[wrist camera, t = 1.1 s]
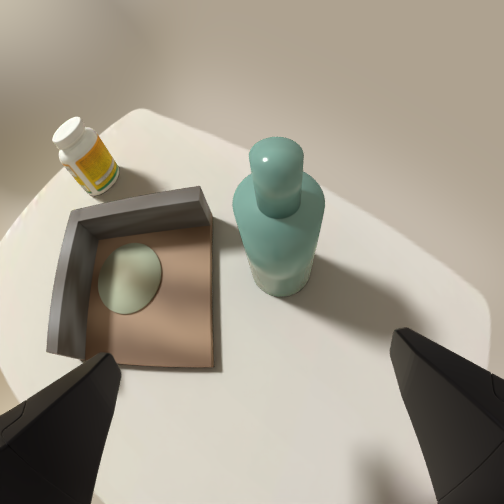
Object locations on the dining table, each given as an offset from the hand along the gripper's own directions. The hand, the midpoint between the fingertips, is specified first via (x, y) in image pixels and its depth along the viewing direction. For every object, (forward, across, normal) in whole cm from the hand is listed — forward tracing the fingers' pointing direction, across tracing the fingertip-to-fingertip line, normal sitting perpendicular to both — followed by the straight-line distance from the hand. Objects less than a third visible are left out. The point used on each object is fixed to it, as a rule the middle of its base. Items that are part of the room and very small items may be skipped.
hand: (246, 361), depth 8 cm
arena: (+15, +11, +5) cm, 20 cm away
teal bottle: (+16, -2, +4) cm, 16 cm away
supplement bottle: (+26, +19, -6) cm, 33 cm away
